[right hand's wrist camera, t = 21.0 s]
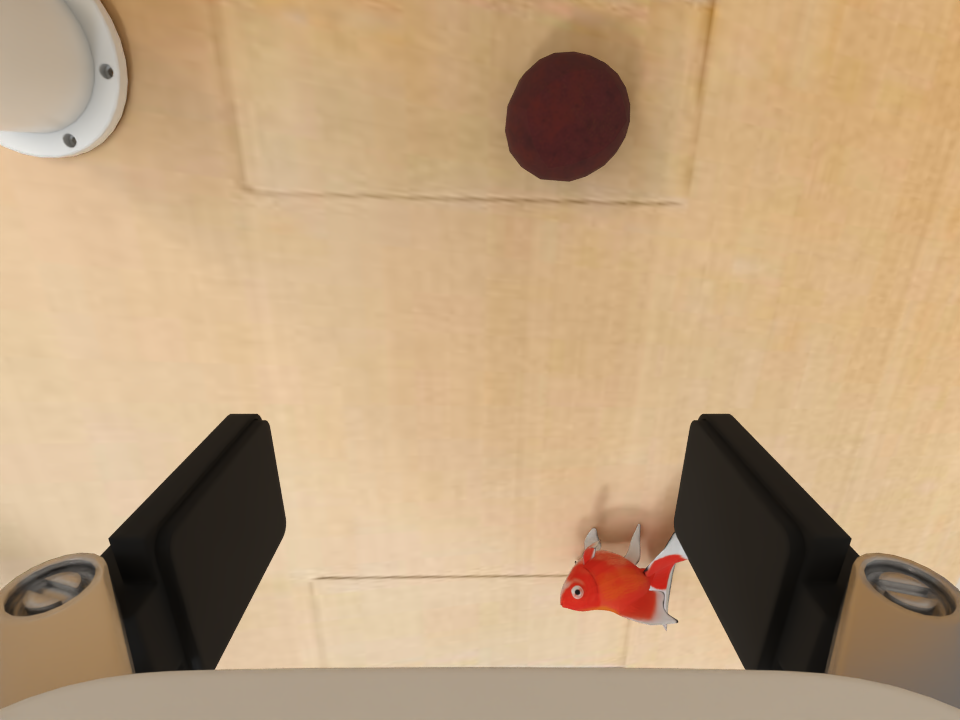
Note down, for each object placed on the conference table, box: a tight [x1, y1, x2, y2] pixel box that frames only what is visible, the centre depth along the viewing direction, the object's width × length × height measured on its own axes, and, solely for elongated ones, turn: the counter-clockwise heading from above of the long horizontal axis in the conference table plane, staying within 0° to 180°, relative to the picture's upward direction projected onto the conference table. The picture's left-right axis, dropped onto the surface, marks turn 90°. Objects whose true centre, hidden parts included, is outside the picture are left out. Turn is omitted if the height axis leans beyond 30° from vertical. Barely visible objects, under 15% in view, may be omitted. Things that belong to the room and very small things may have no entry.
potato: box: [505, 52, 630, 181], centre depth 32 cm, size 7×8×7 cm
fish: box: [560, 524, 688, 631], centre depth 45 cm, size 11×16×10 cm
